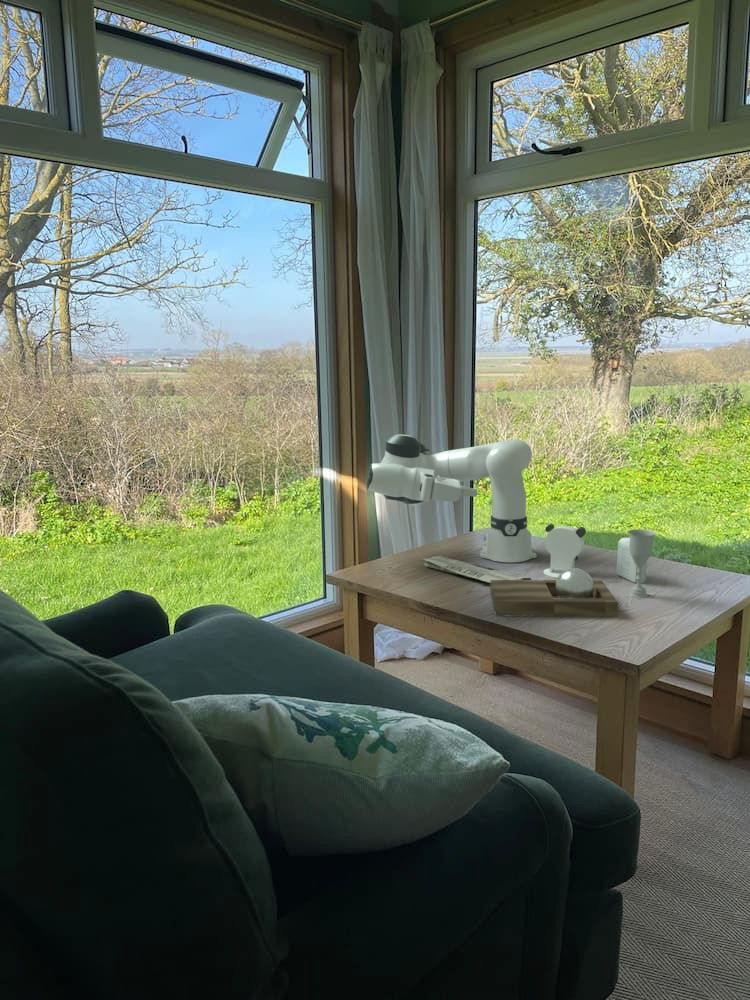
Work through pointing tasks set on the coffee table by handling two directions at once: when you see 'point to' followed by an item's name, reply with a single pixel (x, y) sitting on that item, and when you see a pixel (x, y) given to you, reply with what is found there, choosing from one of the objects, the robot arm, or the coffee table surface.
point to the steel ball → (574, 584)
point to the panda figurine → (563, 547)
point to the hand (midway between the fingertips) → (476, 493)
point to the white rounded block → (628, 562)
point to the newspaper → (470, 570)
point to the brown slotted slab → (548, 599)
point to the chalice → (640, 556)
